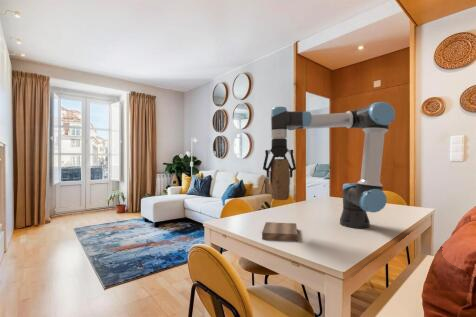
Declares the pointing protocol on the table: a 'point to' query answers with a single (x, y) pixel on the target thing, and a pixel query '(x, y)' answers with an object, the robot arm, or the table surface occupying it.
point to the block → (280, 179)
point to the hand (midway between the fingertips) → (279, 184)
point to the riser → (280, 231)
